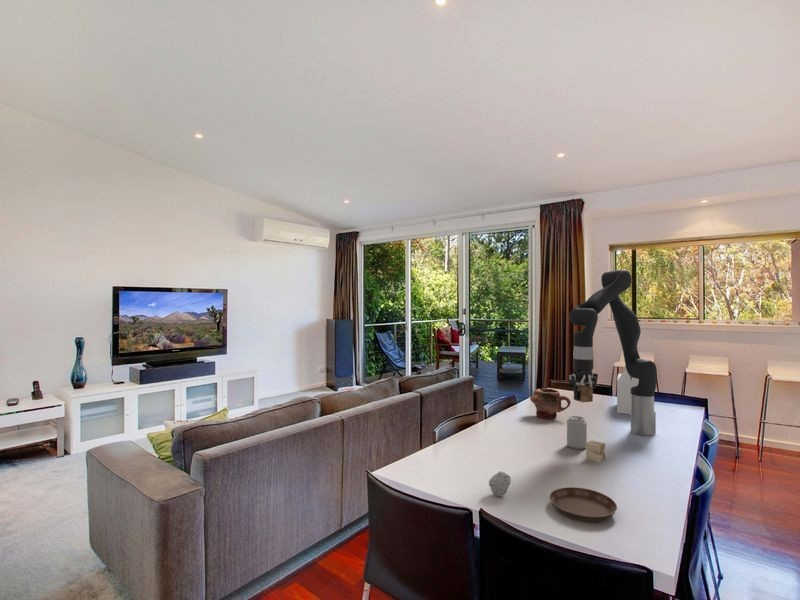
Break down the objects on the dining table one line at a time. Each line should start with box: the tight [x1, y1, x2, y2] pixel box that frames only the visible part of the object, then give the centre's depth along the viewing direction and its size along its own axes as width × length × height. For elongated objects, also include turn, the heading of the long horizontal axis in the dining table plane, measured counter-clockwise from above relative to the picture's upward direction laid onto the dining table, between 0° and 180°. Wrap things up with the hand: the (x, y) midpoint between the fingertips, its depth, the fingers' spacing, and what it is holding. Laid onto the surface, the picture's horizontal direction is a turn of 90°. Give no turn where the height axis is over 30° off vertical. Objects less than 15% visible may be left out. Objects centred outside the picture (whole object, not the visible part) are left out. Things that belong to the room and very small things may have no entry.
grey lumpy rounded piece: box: [488, 470, 512, 497], centre depth 130 cm, size 6×7×7 cm
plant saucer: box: [549, 486, 618, 524], centre depth 121 cm, size 18×18×3 cm
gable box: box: [616, 364, 639, 415], centre depth 231 cm, size 22×13×28 cm, turn 151°
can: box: [566, 415, 588, 450], centre depth 173 cm, size 8×8×12 cm
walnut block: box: [573, 383, 594, 403], centre depth 171 cm, size 5×5×6 cm
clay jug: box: [529, 388, 571, 421], centre depth 216 cm, size 20×12×14 cm, turn 60°
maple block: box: [585, 439, 607, 463], centre depth 160 cm, size 5×5×6 cm
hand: (582, 399), depth 171 cm, fingers closed on walnut block, 5 cm apart
